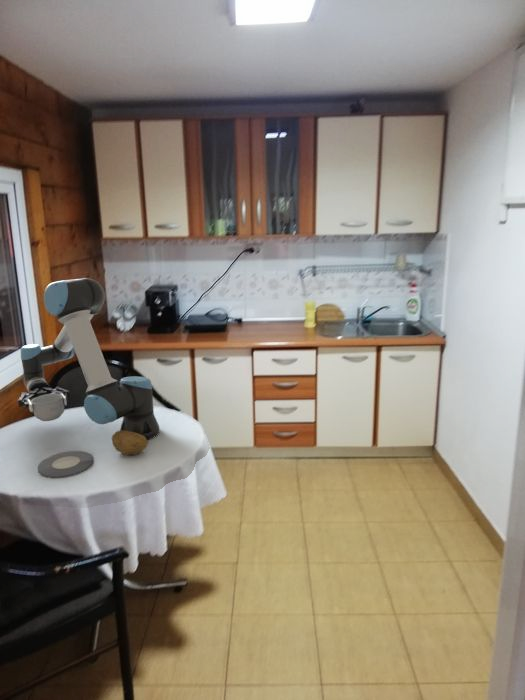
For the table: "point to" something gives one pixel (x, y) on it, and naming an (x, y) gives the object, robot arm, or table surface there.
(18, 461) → the table surface
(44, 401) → the teacup
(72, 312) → the robot arm
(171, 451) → the table surface
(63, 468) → the saucer
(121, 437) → the potato
